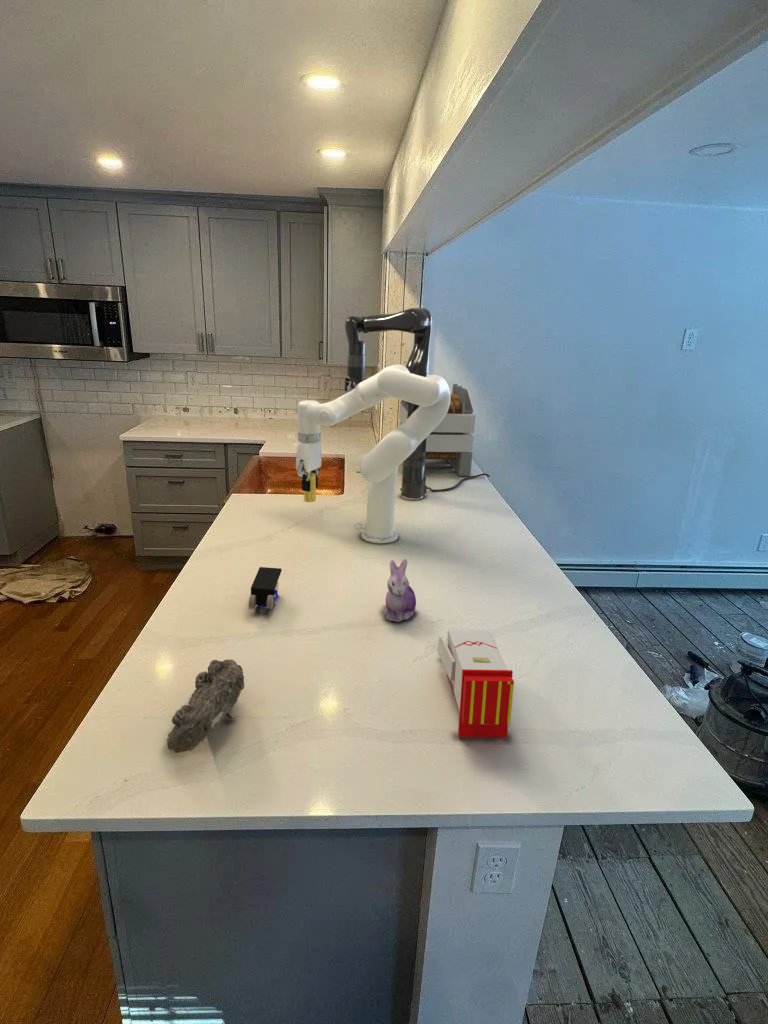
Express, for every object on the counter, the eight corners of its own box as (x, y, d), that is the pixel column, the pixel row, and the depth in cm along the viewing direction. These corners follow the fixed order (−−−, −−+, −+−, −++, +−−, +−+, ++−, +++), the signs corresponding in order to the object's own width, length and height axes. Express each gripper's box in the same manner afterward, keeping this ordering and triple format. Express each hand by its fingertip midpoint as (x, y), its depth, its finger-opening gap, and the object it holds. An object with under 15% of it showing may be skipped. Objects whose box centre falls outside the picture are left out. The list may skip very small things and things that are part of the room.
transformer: (395, 457, 301) (399, 379, 287) (455, 458, 305) (462, 381, 291) (404, 475, 269) (409, 388, 255) (471, 476, 273) (479, 391, 259)
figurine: (392, 627, 141) (395, 572, 136) (374, 608, 149) (376, 556, 144) (425, 619, 145) (429, 566, 140) (405, 601, 154) (408, 550, 149)
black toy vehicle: (274, 622, 143) (283, 588, 157) (273, 597, 140) (282, 565, 153) (248, 621, 143) (258, 588, 157) (246, 596, 140) (257, 564, 153)
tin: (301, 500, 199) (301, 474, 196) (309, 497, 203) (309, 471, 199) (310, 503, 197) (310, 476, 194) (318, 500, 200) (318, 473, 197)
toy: (488, 613, 130) (523, 677, 101) (484, 667, 133) (517, 744, 104) (435, 612, 130) (455, 676, 101) (432, 666, 133) (451, 743, 103)
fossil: (192, 660, 117) (244, 628, 112) (224, 691, 120) (276, 661, 115) (142, 746, 98) (202, 712, 93) (182, 779, 101) (242, 748, 96)
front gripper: (313, 432, 201) (313, 481, 207) (286, 440, 186) (287, 493, 193) (331, 434, 198) (331, 484, 204) (305, 443, 184) (306, 497, 190)
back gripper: (373, 366, 239) (371, 405, 245) (354, 363, 250) (353, 400, 255) (358, 367, 235) (357, 406, 240) (340, 363, 246) (339, 401, 251)
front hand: (309, 488), depth 198 cm, fingers closed on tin, 4 cm apart
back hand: (355, 403), depth 248 cm, fingers open, 8 cm apart
